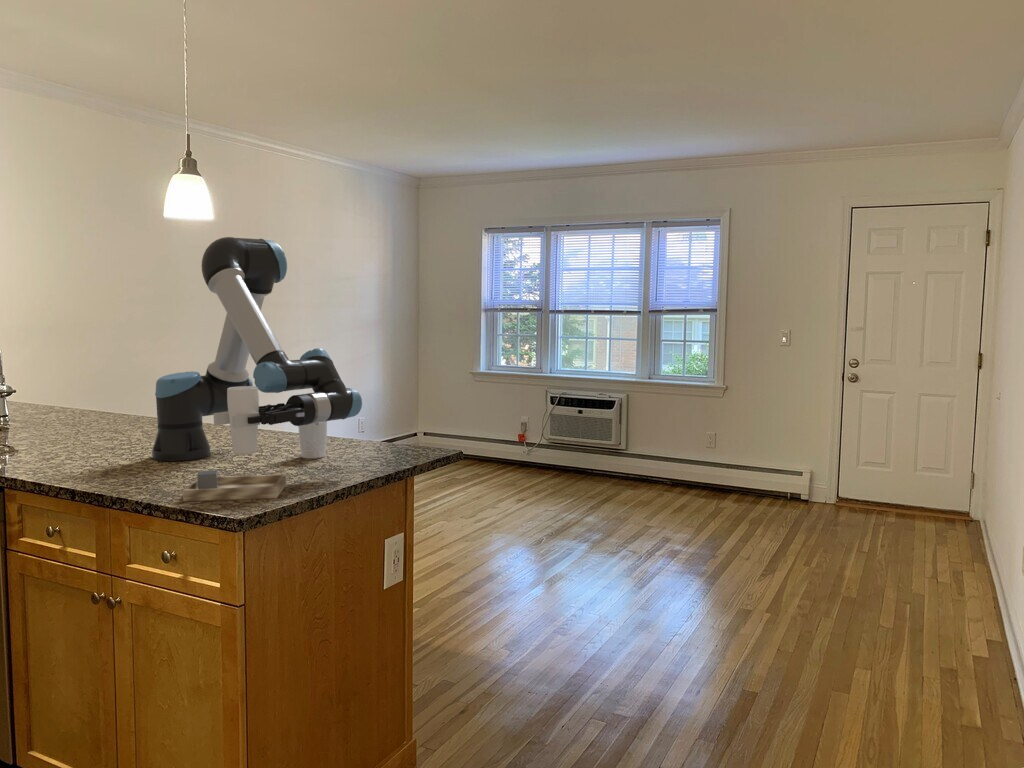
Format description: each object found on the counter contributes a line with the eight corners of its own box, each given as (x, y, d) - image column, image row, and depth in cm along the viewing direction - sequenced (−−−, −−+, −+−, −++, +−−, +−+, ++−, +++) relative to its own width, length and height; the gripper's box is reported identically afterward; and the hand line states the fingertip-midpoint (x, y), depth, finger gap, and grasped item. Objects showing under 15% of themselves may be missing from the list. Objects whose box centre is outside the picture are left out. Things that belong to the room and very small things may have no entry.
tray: (183, 501, 175) (182, 490, 175) (199, 487, 188) (199, 477, 187) (276, 497, 177) (276, 487, 177) (286, 484, 190) (286, 474, 190)
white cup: (320, 459, 219) (319, 423, 218) (294, 458, 221) (293, 423, 220) (332, 454, 227) (331, 419, 226) (307, 453, 228) (305, 418, 227)
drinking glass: (234, 450, 185) (231, 386, 183) (263, 449, 185) (261, 385, 184) (226, 456, 178) (223, 389, 176) (257, 455, 179) (254, 389, 177)
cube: (198, 492, 179) (197, 475, 179) (199, 488, 183) (198, 471, 182) (217, 491, 180) (216, 473, 180) (218, 487, 184) (217, 470, 184)
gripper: (334, 427, 190) (251, 441, 171) (282, 420, 201) (199, 433, 183) (333, 396, 189) (249, 407, 171) (281, 391, 201) (198, 400, 182)
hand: (224, 420), depth 177 cm, fingers closed on drinking glass, 6 cm apart
